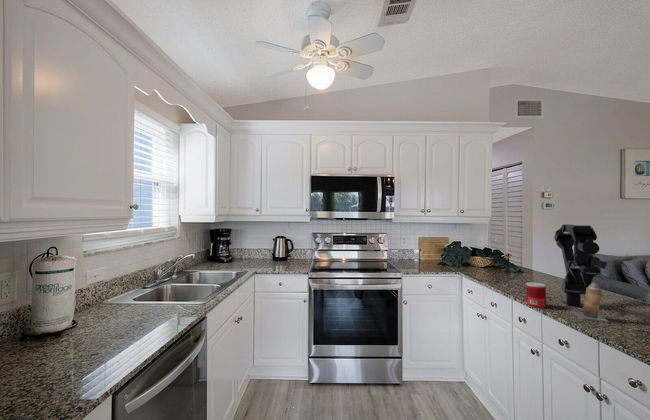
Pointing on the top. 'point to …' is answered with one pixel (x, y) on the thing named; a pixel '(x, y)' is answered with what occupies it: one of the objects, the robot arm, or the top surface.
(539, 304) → the canned food
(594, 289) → the pepper mill
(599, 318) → the plate
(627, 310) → the top surface
